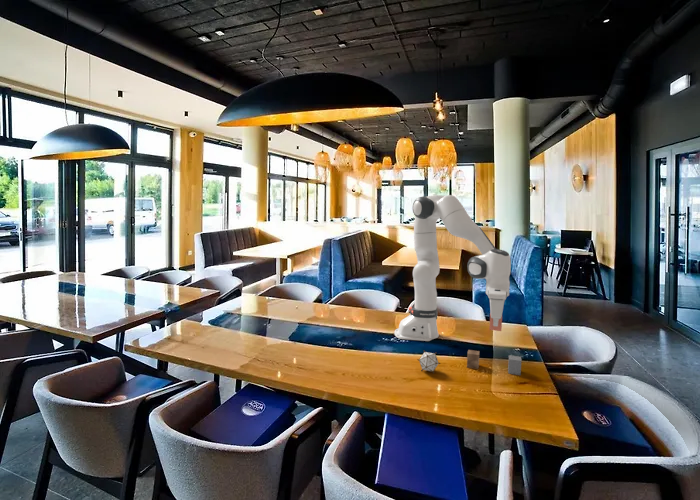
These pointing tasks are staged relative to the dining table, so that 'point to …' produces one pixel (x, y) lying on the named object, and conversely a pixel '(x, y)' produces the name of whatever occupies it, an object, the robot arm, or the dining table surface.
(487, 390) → the dining table surface
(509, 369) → the grey block
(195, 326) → the dining table surface
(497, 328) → the red block
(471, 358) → the walnut block
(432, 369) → the game die
